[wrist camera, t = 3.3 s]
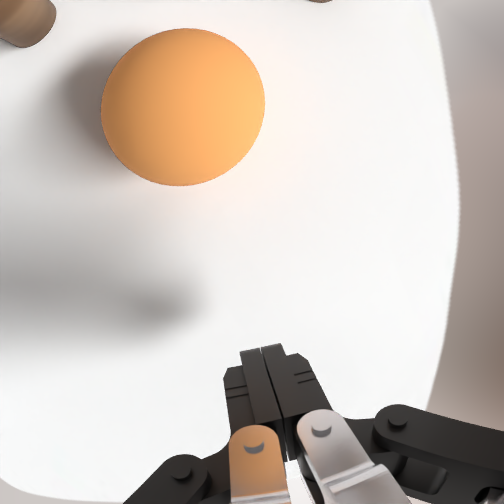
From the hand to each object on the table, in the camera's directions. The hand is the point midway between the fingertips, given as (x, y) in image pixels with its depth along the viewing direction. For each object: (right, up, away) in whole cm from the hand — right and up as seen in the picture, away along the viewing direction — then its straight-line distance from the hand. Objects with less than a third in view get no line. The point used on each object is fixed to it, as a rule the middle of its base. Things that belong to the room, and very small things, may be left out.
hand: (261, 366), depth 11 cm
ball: (-2, +9, -2) cm, 9 cm away
